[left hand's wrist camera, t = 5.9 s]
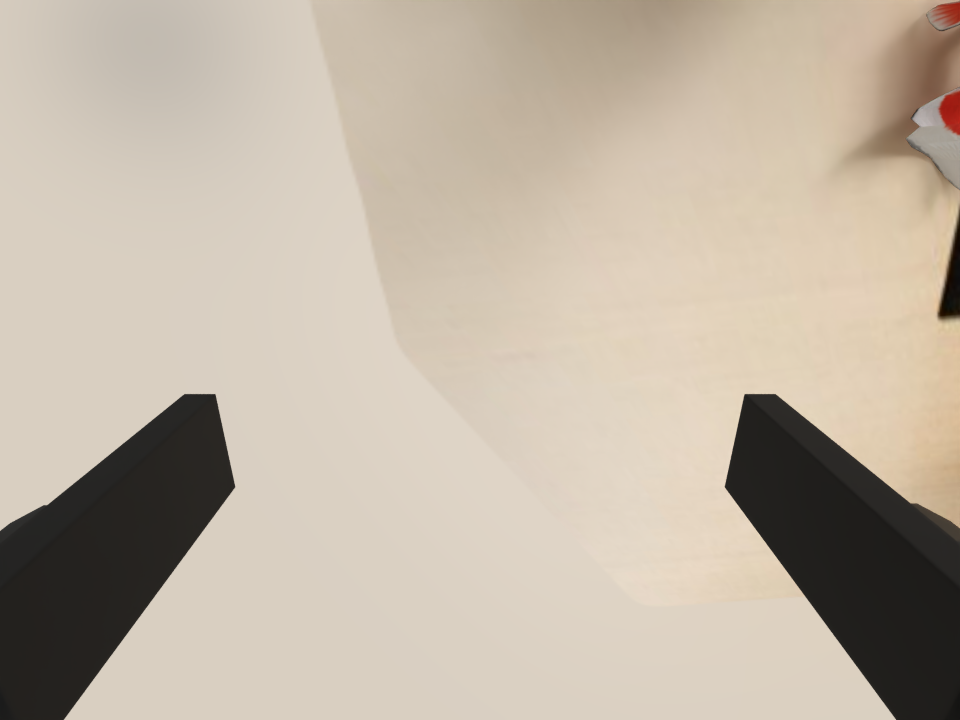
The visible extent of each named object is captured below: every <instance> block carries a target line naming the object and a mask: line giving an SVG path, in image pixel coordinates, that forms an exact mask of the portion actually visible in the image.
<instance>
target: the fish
mask: <svg viewBox="0 0 960 720" xmlns="http://www.w3.org/2000/svg"><path fill="white" fill-rule="evenodd" d="M926 15H927V18H928V20H929V22H930V23H931V24H932V25H933V26H934V27H935V28H936V29H937V30H939V31H944V30H947V29H950V28H953V27H955V26H958V25H960V1H959V2H953V3H947V4H941V5H938V6H937V7H935V8H933V9H931V10H930V11H929V12H928V13H927V14H926ZM911 119H912V120H913V121H914V122H915V123H917V124H918V125H919V126H920V127H919V128H918V129H916V130H915V131H914V132H913V133H912V134H911V135H909V136H908V137H907V138H906V140H907V141H908V143H909V144H910V146H911V147H913V148H914V149H916V150H918V151H920V152H922V153H923V154H925V155H926V156H928V157H929V158H931V159H932V160H933V162H934V163H935V165H936V167H937V168H938V169H939V170H940V172H941V173H942V174H943V175H944V176H945V177H946V178H947V179H948V180H949V181H950V182H951V183H952V184H953V185H954V186H955V187H956V188H958V189H959V190H960V87H958V88H956V89H954V90H952V91H950V92H948V93H946V94H944V95H942V96H940V97H938V98H936V99H934V100H932V101H930V102H929V103H927V104H925V105H924V106H922V107H920V108H919V109H917V110H916V112H915V113H914V114H913V116H912V117H911Z"/></svg>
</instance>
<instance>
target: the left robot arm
mask: <svg viewBox="0 0 960 720" xmlns="http://www.w3.org/2000/svg"><path fill="white" fill-rule="evenodd" d="M234 488H235V484H234V479H233V474H232V470H231V465H230V460H229V456H228V451H227V446H226V442H225V437H224V432H223V428H222V423H221V418H220V414H219V409H218V404H217V400H216V395H215V394H184V395H183V396H182V397H180V398H179V399H178V400H177V401H175V402H174V403H173V404H172V405H171V406H169V407H168V408H167V409H166V410H164V411H163V412H162V413H161V414H159V415H158V416H157V417H156V418H154V419H153V420H152V421H151V422H150V423H148V424H147V425H146V426H145V427H143V428H142V429H141V430H140V431H138V432H137V433H136V434H135V435H134V436H132V437H131V438H130V439H129V440H127V441H126V442H125V443H124V444H122V445H121V446H120V447H119V448H117V449H116V450H115V451H114V452H112V453H111V454H110V455H109V456H108V457H106V458H105V459H104V460H103V461H101V462H100V463H99V464H98V465H97V466H95V467H94V468H93V469H91V470H90V471H89V472H88V473H87V474H85V475H84V476H83V477H82V478H80V479H79V480H78V481H77V482H75V483H74V484H73V485H72V486H70V487H69V488H68V489H67V490H66V491H64V492H63V493H62V494H61V495H59V496H58V497H57V498H56V499H54V500H53V501H52V502H51V503H49V504H48V505H43V506H42V507H40V508H38V509H36V510H34V511H32V512H30V513H28V514H27V515H25V516H23V517H21V518H19V519H17V520H15V521H14V522H12V523H10V524H9V525H7V526H6V527H5V528H3V529H2V530H1V531H0V720H64V719H65V717H66V716H67V715H68V713H69V712H70V711H71V709H72V708H73V706H74V705H75V704H76V702H77V701H78V700H79V698H80V697H81V696H82V694H83V693H84V692H85V690H86V689H87V687H88V686H89V685H90V683H91V682H92V681H93V679H94V678H95V677H96V675H97V674H98V673H99V671H100V670H101V668H102V667H103V666H104V664H105V663H106V662H107V660H108V659H109V658H110V656H111V655H112V654H113V652H114V651H115V649H116V648H117V647H118V645H119V644H120V643H121V641H122V640H123V639H124V637H125V636H126V635H127V633H128V632H129V630H130V629H131V628H132V626H133V625H134V624H135V622H136V621H137V620H138V618H139V617H140V616H141V614H142V613H143V611H144V610H145V609H146V607H147V606H148V605H149V603H150V602H151V601H152V599H153V598H154V597H155V595H156V594H157V592H158V591H159V590H160V588H161V587H162V586H163V584H164V583H165V582H166V580H167V579H168V578H169V576H170V575H171V574H172V572H173V571H174V569H175V568H176V567H177V565H178V564H179V563H180V561H181V560H182V559H183V557H184V556H185V555H186V553H187V552H188V550H189V549H190V548H191V546H192V545H193V544H194V542H195V541H196V540H197V538H198V537H199V536H200V534H201V533H202V531H203V530H204V529H205V527H206V526H207V525H208V523H209V522H210V521H211V519H212V518H213V517H214V515H215V514H216V512H217V511H218V510H219V508H220V507H221V506H222V504H223V503H224V502H225V500H226V499H227V498H228V496H229V495H230V493H231V492H232V491H233V489H234ZM725 488H726V489H727V491H728V492H729V493H730V495H731V496H732V498H733V499H734V500H735V502H736V503H737V504H738V506H739V507H740V508H741V510H742V511H743V512H744V514H745V515H746V517H747V518H748V519H749V521H750V522H751V523H752V525H753V526H754V527H755V529H756V530H757V531H758V533H759V534H760V536H761V537H762V538H763V540H764V541H765V542H766V544H767V545H768V546H769V548H770V549H771V550H772V552H773V553H774V555H775V556H776V557H777V559H778V560H779V561H780V563H781V564H782V565H783V567H784V568H785V569H786V571H787V572H788V574H789V575H790V576H791V578H792V579H793V580H794V582H795V583H796V584H797V586H798V587H799V588H800V590H801V591H802V593H803V594H804V595H805V597H806V598H807V599H808V601H809V602H810V603H811V605H812V606H813V607H814V609H815V610H816V612H817V613H818V614H819V616H820V617H821V618H822V620H823V621H824V622H825V624H826V625H827V626H828V628H829V629H830V630H831V632H832V633H833V635H834V636H835V637H836V639H837V640H838V641H839V643H840V644H841V645H842V647H843V648H844V649H845V651H846V652H847V654H848V655H849V656H850V658H851V659H852V660H853V662H854V663H855V664H856V666H857V667H858V668H859V670H860V671H861V672H862V674H863V675H864V677H865V678H866V679H867V681H868V682H869V683H870V685H871V686H872V687H873V689H874V690H875V692H876V693H877V694H878V696H879V697H880V698H881V700H882V701H883V702H884V704H885V705H886V706H887V708H888V709H889V711H890V712H891V713H892V715H893V716H894V717H895V719H896V720H960V528H958V527H957V526H956V525H955V524H953V523H952V522H951V521H949V520H947V519H945V518H943V517H941V516H939V515H938V514H936V513H934V512H932V511H930V510H928V509H926V508H924V507H922V506H921V505H919V504H911V503H909V502H908V501H907V500H906V499H904V498H903V497H902V496H901V495H899V494H898V493H897V492H896V491H894V490H893V489H892V488H891V487H890V486H888V485H887V484H886V483H885V482H883V481H882V480H881V479H880V478H878V477H877V476H876V475H875V474H873V473H872V472H871V471H870V470H869V469H867V468H866V467H865V466H864V465H862V464H861V463H860V462H859V461H857V460H856V459H855V458H854V457H852V456H851V455H850V454H849V453H848V452H846V451H845V450H844V449H843V448H841V447H840V446H839V445H838V444H836V443H835V442H834V441H833V440H831V439H830V438H829V437H828V436H827V435H825V434H824V433H823V432H822V431H820V430H819V429H818V428H817V427H815V426H814V425H813V424H812V423H810V422H809V421H808V420H807V419H806V418H804V417H803V416H802V415H801V414H799V413H798V412H797V411H796V410H794V409H793V408H792V407H791V406H789V405H788V404H787V403H786V402H785V401H783V400H782V399H781V398H780V397H778V396H777V395H776V394H745V395H744V400H743V404H742V409H741V414H740V418H739V423H738V428H737V432H736V437H735V442H734V446H733V451H732V456H731V460H730V465H729V470H728V474H727V479H726V484H725Z"/></svg>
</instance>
